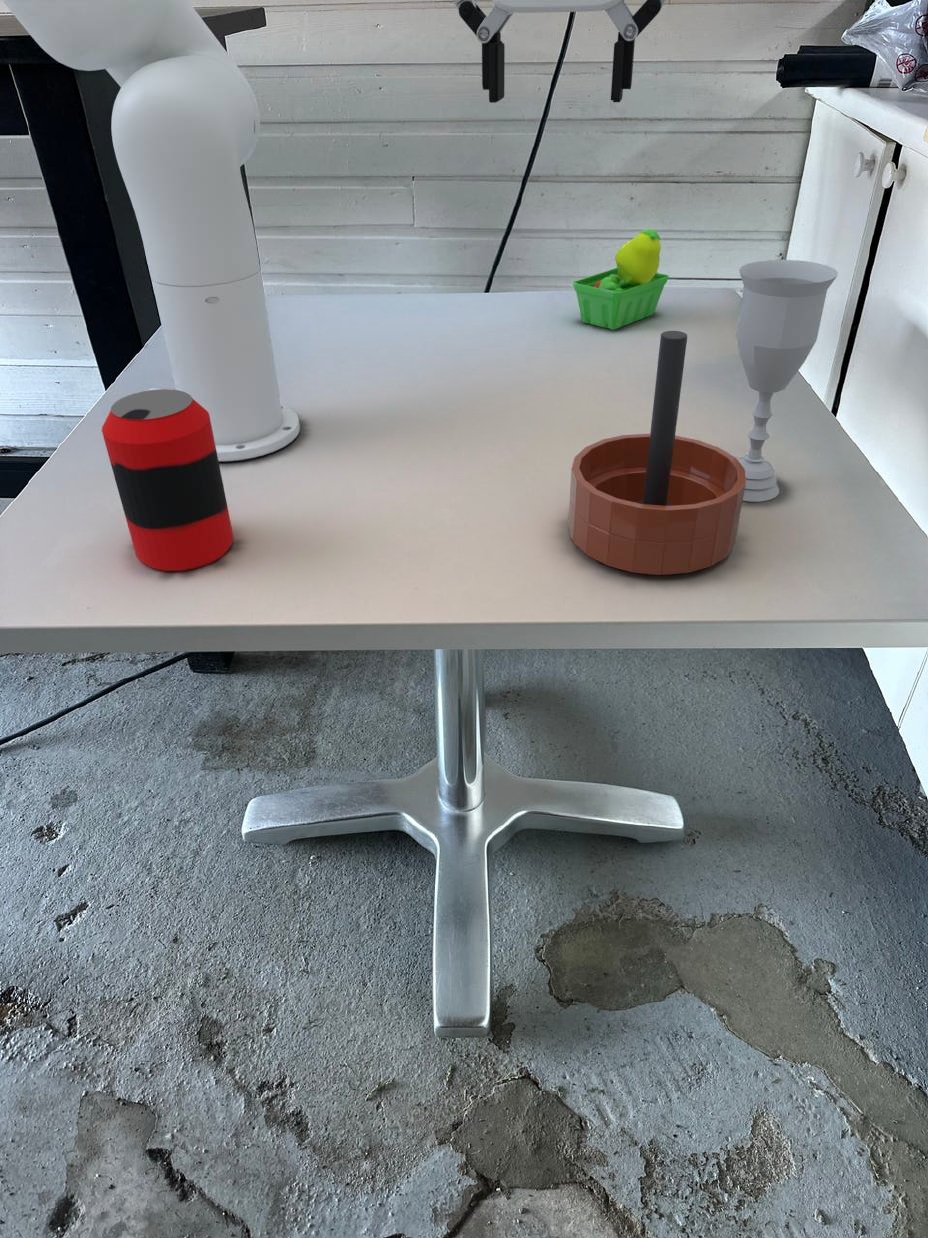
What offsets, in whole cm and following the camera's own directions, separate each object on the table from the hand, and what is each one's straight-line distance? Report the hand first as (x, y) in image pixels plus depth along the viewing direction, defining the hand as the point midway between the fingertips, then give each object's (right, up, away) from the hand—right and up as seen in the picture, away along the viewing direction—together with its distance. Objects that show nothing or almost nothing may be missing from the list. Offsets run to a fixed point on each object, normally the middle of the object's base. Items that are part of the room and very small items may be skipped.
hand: (555, 100), depth 71 cm
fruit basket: (+13, -3, +45) cm, 47 cm away
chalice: (+17, -30, +6) cm, 35 cm away
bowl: (+7, -35, -1) cm, 36 cm away
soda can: (-29, -36, 0) cm, 47 cm away
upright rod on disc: (+7, -35, -1) cm, 35 cm away
